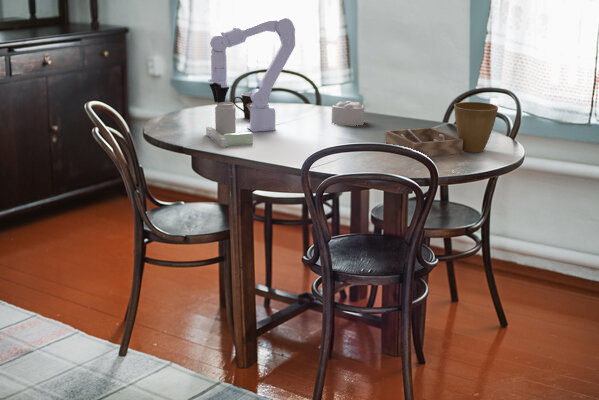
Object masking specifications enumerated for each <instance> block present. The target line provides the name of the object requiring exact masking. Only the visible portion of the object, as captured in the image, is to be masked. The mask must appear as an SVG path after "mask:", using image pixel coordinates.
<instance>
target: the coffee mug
mask: <svg viewBox="0 0 599 400" xmlns="http://www.w3.org/2000/svg"><path fill="white" fill-rule="evenodd" d="M250 93H251V92H243V93H241V97H240V96H236V97H233V99H232V100H233V101H232V103H233V105H234V107H235V108H238V110H240V111H242V113H243V117H244V119H245V120H249V121H250V105H251V104H252V102H253V101H252V100H251V98H250ZM236 99H239V100H240V101H241V102H242V107H243V108H241V107H240V106H238V105H237V104H236V103H235V100H236Z"/></svg>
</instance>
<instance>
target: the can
mask: <svg viewBox="0 0 599 400" xmlns="http://www.w3.org/2000/svg"><path fill="white" fill-rule="evenodd" d="M214 110H215V112H214V113H215V114H214V115H215V117H214V118H215V124H214V125H215V130H216V131H218V132H219V133H220V134H221V135H223V136H224V134H230V133H237V132H236V131H237V130H236V128H237V127H236V126H237V124H236V106H235V105H234V103H233V102H229V101H225V102H220V103H218V102H216V106H215V108H214Z"/></svg>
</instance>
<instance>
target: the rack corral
mask: <svg viewBox="0 0 599 400" xmlns="http://www.w3.org/2000/svg"><path fill="white" fill-rule="evenodd" d="M408 129H410V130H411V131H412V133H413V134H414V135H415V136H416V137H417V138H418V139H419V140H420V141H421V142H419V141H418V140H417V139H416V138H415V137H414V136H413V135H412V134H411V133H410V132H409V131H408ZM408 129H394V130H385V135H384V136H385V137H384V144H385V143H386V144H393V145H399V146H404V147H408V148H411V149H413V150H416V151H419V152H421V153H423V154H425V155H427V156H428V157H427V158H432V157H433V156H434V157H442V156H441V155H445V156H451V155H450V154H457V155H462V154H463V150H462V146H463V140H462V139H459V137H457V136H454V135H451V134H449V133H446V132H444V131H442V130H439V129H436V128H433V127H423V128H408ZM402 134H403V135H404V136H405V138H403V137H402V136H401V135H402ZM440 134H441V135H443V136H444V137H445V140H444V141H443V137H440V136H439V135H440ZM434 139H436V140H438V141H433V140H434ZM461 153H462V154H461ZM429 156H430V157H429Z"/></svg>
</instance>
